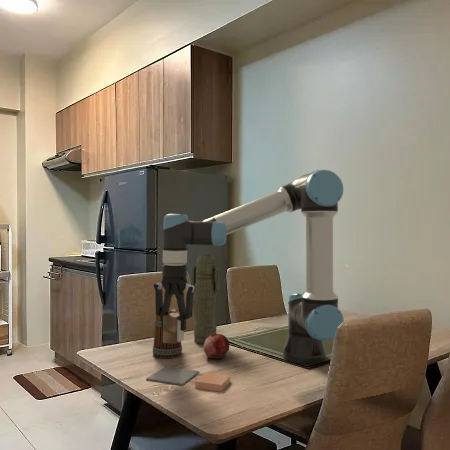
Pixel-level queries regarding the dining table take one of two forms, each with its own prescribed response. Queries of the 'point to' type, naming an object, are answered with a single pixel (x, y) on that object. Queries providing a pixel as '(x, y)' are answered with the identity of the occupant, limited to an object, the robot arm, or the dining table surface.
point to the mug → (164, 348)
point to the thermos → (205, 296)
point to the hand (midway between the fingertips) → (173, 339)
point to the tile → (212, 382)
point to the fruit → (216, 345)
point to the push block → (170, 328)
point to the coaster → (173, 375)
